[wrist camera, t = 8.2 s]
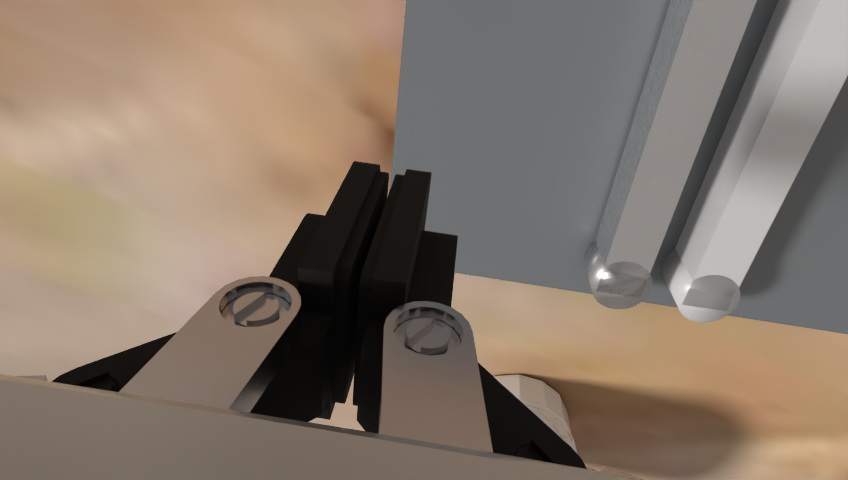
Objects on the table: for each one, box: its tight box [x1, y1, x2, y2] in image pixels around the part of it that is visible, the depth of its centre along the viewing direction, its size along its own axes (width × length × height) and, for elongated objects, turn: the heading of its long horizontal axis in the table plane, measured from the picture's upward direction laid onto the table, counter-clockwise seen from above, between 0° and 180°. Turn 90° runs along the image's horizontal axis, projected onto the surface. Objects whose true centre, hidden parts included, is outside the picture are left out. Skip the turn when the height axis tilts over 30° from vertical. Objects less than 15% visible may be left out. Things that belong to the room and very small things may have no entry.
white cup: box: [493, 374, 577, 453], centre depth 30 cm, size 8×8×10 cm
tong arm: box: [584, 0, 757, 309], centre depth 20 cm, size 21×3×2 cm, turn 174°
